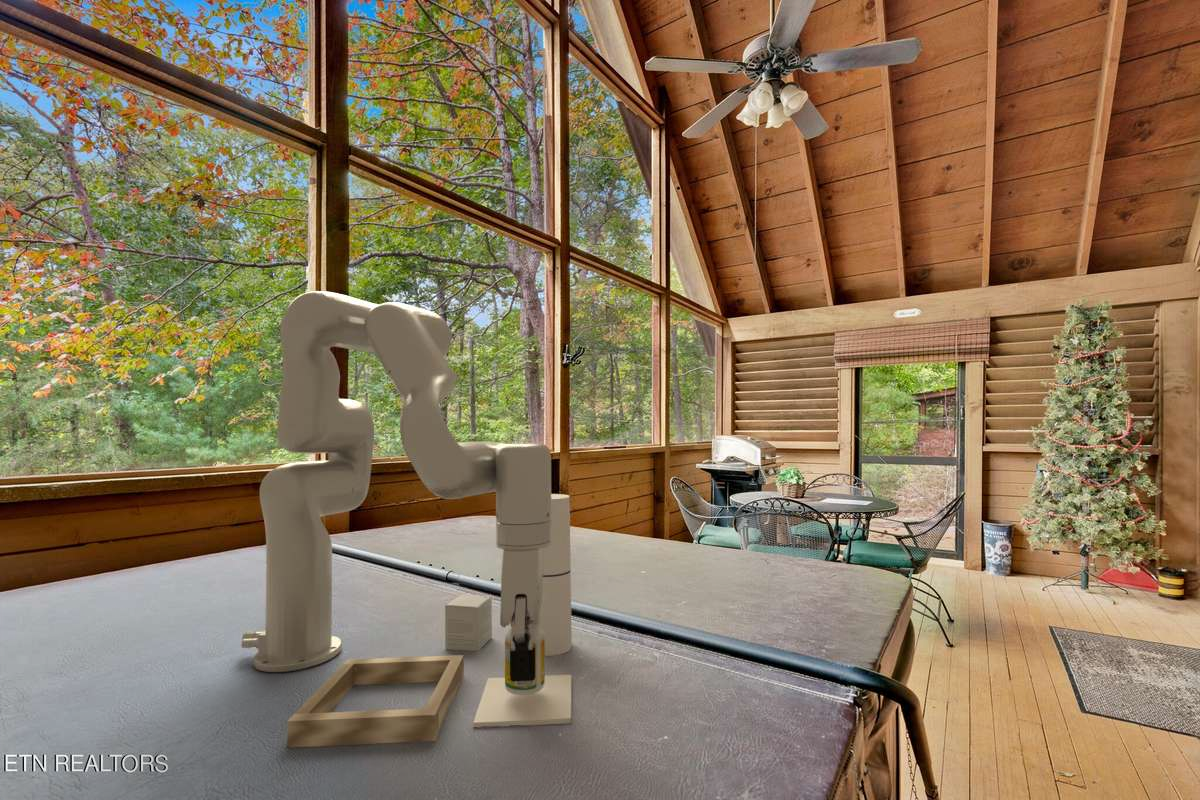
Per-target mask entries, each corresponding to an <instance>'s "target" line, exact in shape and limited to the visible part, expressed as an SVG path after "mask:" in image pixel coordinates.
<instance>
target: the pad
mask: <svg viewBox="0 0 1200 800" xmlns="http://www.w3.org/2000/svg"><path fill="white" fill-rule="evenodd" d="M560 724H561V725H562V724H565V725H566V724H572V674H557V675H556V674H555V675H554V674H552V675H545V683H544V686H543V688H542V689H541V690H540V691H538V692H536V693H534V694H530V695H514V694H511V693H509V692H508V691H507V690H506V688H505V676H504V677H488V678H487V680H486V683H485V687H484V689H483V693H482V696H481V698H480V702H479V705H478V708H477V711H476V714H475V717H474V720H473V722H472V725H473V726H472V728H473V727H477V728H479V727H478V726H499V727H503V726H502V725H521V726H536V725H537V726H538V725H539V726H540V725H560Z"/></svg>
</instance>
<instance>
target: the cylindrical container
mask: <svg viewBox="0 0 1200 800" xmlns="http://www.w3.org/2000/svg"><path fill="white" fill-rule="evenodd" d="M570 503H571V501H570V495H568V494H563V493H560V494H559V493H551V520H552V544H551V545H549V546H548V547H544V548H543V588H542V601H541V608H540V623H539V627H540V628H542V630H543V631H544V634H545V657H550V656H559V655H563V654H566V653H567V652H569V651H570V650H571V649H572V647H573V646H572V645H573V644H572V641H573V640H572V639H573V636H572V634H573V633H572V583H571V581H572V576H571V575H572V574H571V573H572V572H571V570H572V568H571V565H572V564H571V563H572V562H571V513H570V512H571V510H570V509H571V508H570V507H571V504H570Z"/></svg>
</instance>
